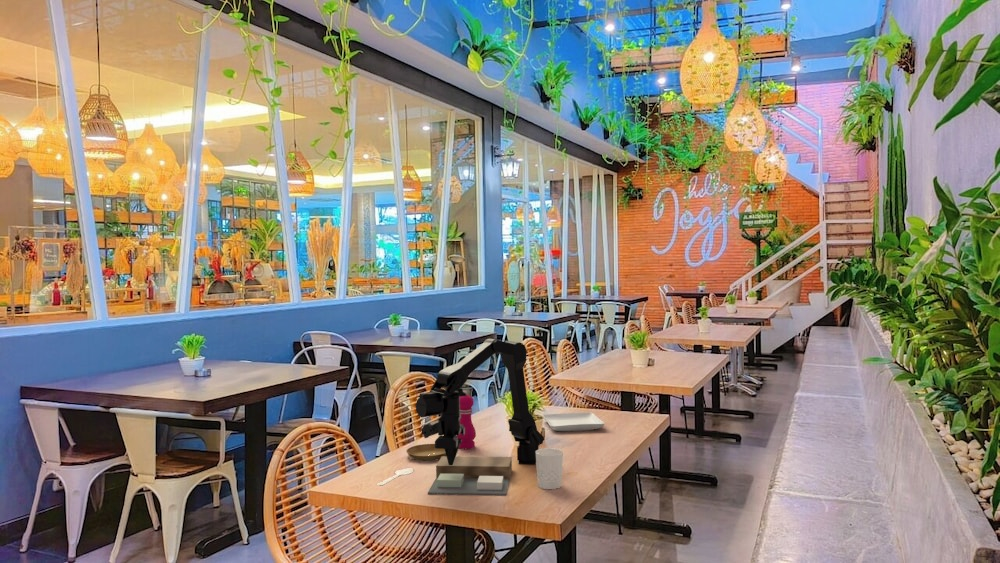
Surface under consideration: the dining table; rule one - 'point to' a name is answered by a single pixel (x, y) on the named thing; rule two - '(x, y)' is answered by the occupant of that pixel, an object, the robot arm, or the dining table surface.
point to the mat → (467, 488)
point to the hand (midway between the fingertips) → (450, 465)
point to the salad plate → (573, 421)
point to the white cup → (549, 467)
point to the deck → (476, 466)
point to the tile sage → (450, 480)
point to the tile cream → (490, 482)
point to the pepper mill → (466, 422)
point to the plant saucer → (425, 452)
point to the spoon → (398, 473)
